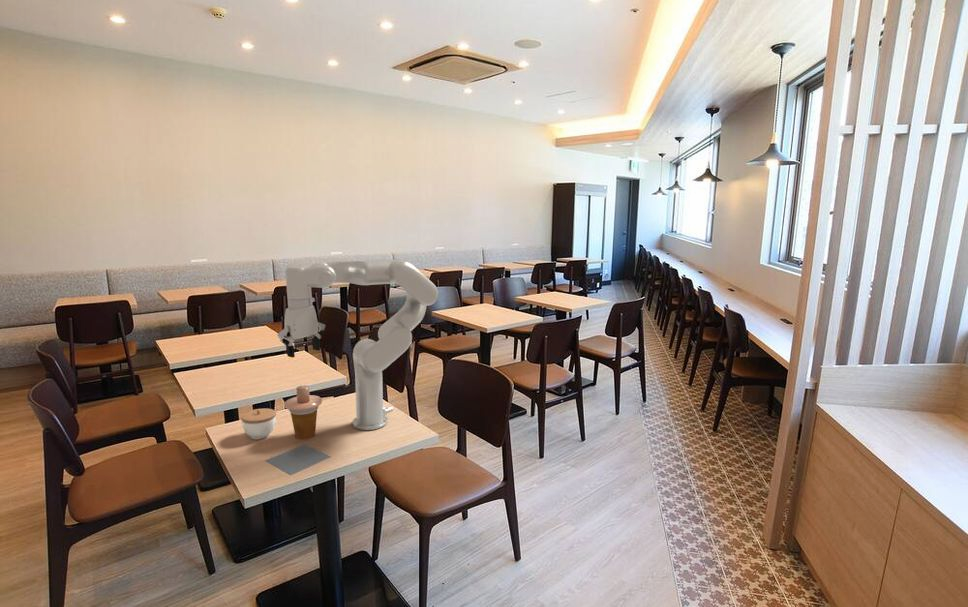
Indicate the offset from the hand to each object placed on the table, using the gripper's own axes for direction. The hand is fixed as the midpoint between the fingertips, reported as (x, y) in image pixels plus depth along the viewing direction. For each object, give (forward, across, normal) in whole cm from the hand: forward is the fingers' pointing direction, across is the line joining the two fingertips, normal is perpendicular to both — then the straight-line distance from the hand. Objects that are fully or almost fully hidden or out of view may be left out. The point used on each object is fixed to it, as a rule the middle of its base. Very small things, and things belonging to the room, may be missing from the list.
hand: (304, 353), depth 164 cm
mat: (+29, +13, +13) cm, 34 cm away
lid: (+18, +2, 0) cm, 18 cm away
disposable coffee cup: (+30, +2, 0) cm, 30 cm away
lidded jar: (+29, +11, -13) cm, 34 cm away
